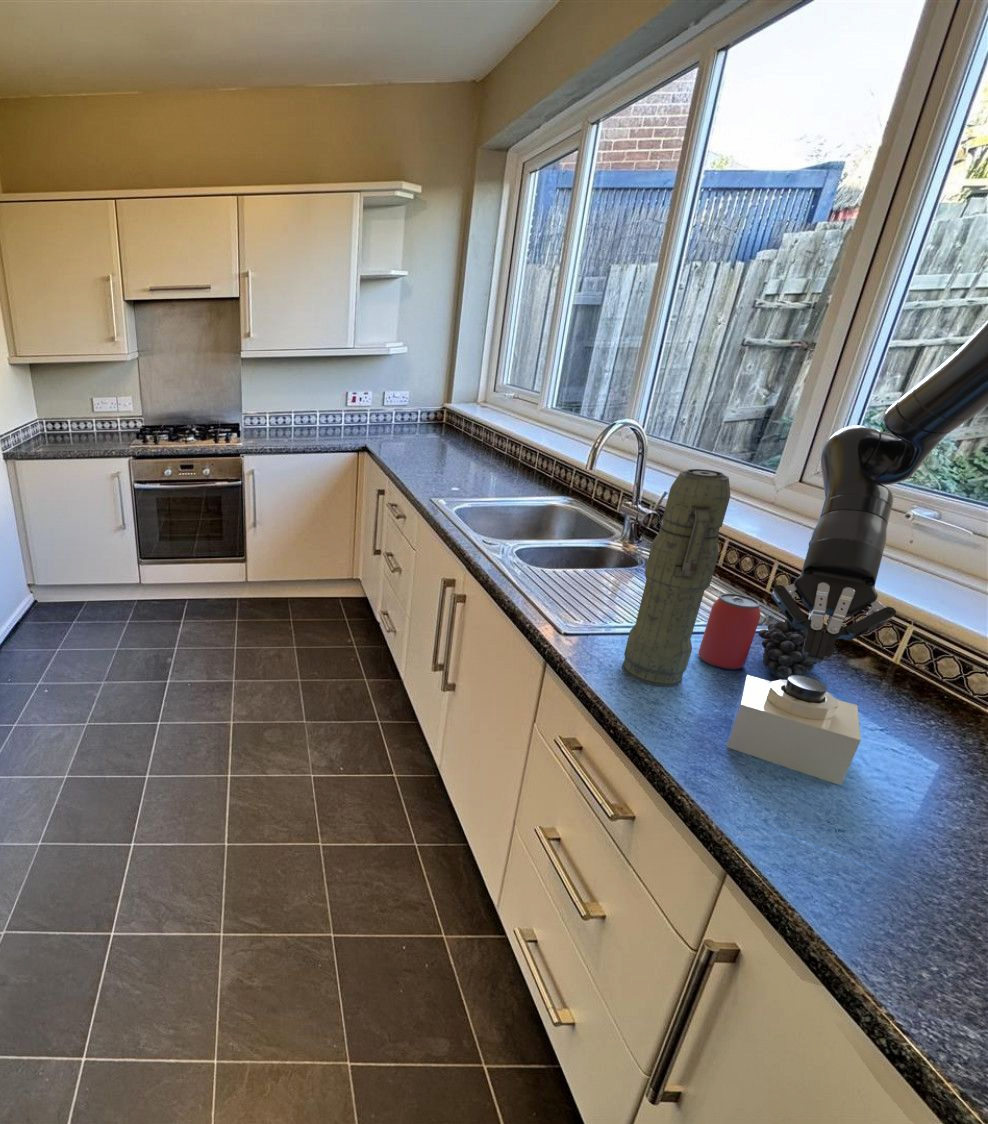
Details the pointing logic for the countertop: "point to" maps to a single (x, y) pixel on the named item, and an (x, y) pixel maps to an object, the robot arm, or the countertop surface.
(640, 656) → the thermos
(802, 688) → the black push button
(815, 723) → the push button housing
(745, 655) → the beer can
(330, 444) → the countertop surface
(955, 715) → the countertop surface
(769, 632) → the fruit
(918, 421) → the robot arm
